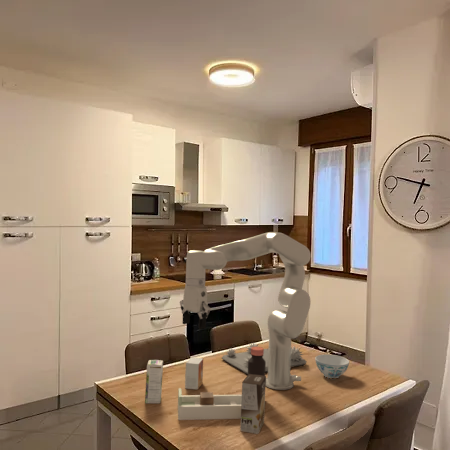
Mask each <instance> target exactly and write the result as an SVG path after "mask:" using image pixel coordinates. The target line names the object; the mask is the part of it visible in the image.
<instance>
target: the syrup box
mask: <svg viewBox="0 0 450 450" xmlns="http://www.w3.org/2000/svg"><path fill="white" fill-rule="evenodd" d="M163 365H164V360H161V359H160V360H159V359H149V360H148V362H147V365H146V374H145V375H146V377H145V395H144V403H145V404H161V400H162V394H163V393H162V391H163V388H162V387H163V367H164V366H163Z"/></svg>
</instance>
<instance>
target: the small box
mask: <svg viewBox="0 0 450 450" xmlns="http://www.w3.org/2000/svg"><path fill="white" fill-rule="evenodd" d="M184 374H185V375H184V377H185V378H184V379H185V381H184V388H185V389H189V390H196V391H197V390H199V388H201V386H202V384H203V375H204V358H203V357H202V358H201V357H190V358H189V359H188V360H187V361H186V362H185V373H184Z"/></svg>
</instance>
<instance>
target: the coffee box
mask: <svg viewBox="0 0 450 450" xmlns="http://www.w3.org/2000/svg"><path fill="white" fill-rule="evenodd" d="M266 378H267V376H266V375H265V376H262V375H255V374H254V375H253V374H247V376H246V377H245V378H244V379H243V380H242V382H241V383H242V385H241V395H242V402H241V419H240V428H239V430H240V431H241V432H245V433H250V434H257V435H258V434H259V433H260V431H261V429H262V427H263V425H264V423H265V412H266V411H265V409H266V408H265V406H266V388H267V386H266Z"/></svg>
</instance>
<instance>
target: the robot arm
mask: <svg viewBox="0 0 450 450" xmlns="http://www.w3.org/2000/svg"><path fill="white" fill-rule="evenodd" d="M270 253H274V254H278V256H279V259H280V261H282V263H283V265H284V276H283V280H282V283H281V287H280V290H279V293H278V296H277V301H278V304H279V305H280V306H281V307H283V308H285V309H286V310H284V309H275V310H273V311H271V312H270V313H269V315H268V317H267V329H268V348H269V352H268V372H267V377H266V388H269V389H272V390H275V391H276V390H279V391H285V390H286V391H287V390H290V389H292V388H294V382H301V381H302V376H301V375H299V376H298V375H296V374H291V367H290V366H291V347H292V339H295V338H298V337H299V336H300V335H301V334H302V332H303V330H304V328H305V324H306V321H307V319H308V318H307V317H308V314H309V312H310V308H311V297H310V294H309V292H307V291H306V290H304V289H303V286H304V284H305V283H304V282H305V277H306V271H305V266H306V265H308V264H309V263H310V261H311V256H312V255H311V251H310V249H309V248H308V247H307V246H306V245H304V244H303V243H301V242H299V241H297V240H296V239H294V238H293V237H291V236H289V235H287V234H285V233H282V232H276V231H269V232H265V233H261V234H258V235H255V236H251V237H248V238H244V239H241V240H236V241H232V242H229V243H225V244H224V243H223V244H220V245H217V246H212V247H210V248H207V249H205V250H204V251H203V250H189V251H187V253H186V264H185V267H186V268H185V286H184V290H183V297H182V298H183V299H181V300H180V301H179V305H180V310H181V314H182V321H181V322H182V324H183V325H189V324H190V322H191V314H190V312H191V313H195V314H196V313H197V315H198V317H199V318H198V329H199V330H204V329H206V327H207V318H208V317H209V315H210V312H211V310H212V309H211V307H210V306H209V305H208V304H209V303H208V292H207V291H208V290H207V287H206V270H212V271H219V270H222V269H224V268H225V267H226V265H227V263H228V262H232V261H248V260H253V259H255V258H258V257H261V256H264V255H268V254H270Z"/></svg>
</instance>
